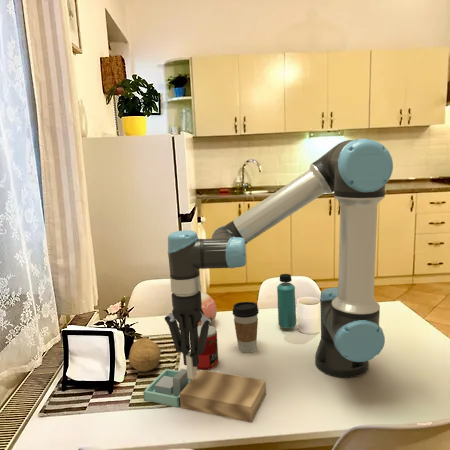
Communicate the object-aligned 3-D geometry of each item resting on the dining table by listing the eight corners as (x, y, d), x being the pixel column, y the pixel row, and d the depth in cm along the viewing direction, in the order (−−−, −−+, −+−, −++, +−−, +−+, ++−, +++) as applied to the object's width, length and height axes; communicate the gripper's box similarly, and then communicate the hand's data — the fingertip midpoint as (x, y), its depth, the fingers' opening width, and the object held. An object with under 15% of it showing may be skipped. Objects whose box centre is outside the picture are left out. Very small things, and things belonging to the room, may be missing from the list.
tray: (199, 382, 117) (198, 374, 116) (179, 407, 106) (178, 398, 106) (166, 376, 121) (165, 368, 120) (144, 400, 110) (143, 391, 109)
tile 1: (163, 375, 117) (164, 382, 117) (154, 385, 112) (155, 392, 112) (179, 378, 115) (180, 385, 115) (170, 388, 110) (171, 395, 110)
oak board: (265, 394, 110) (265, 380, 109) (251, 422, 99) (251, 407, 98) (200, 382, 117) (199, 369, 116) (180, 407, 106) (179, 393, 105)
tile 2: (188, 369, 113) (181, 368, 114) (179, 379, 109) (172, 377, 109) (188, 386, 114) (182, 384, 115) (180, 396, 110) (173, 395, 110)
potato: (157, 353, 135) (155, 330, 134) (166, 374, 122) (164, 349, 121) (126, 360, 132) (124, 336, 130) (132, 382, 119) (129, 356, 117)
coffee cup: (252, 356, 130) (250, 311, 127) (229, 351, 134) (227, 307, 131) (264, 345, 137) (263, 302, 134) (242, 340, 141) (240, 298, 138)
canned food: (215, 371, 122) (213, 336, 120) (189, 369, 124) (187, 335, 122) (221, 358, 130) (219, 325, 128) (196, 357, 131) (194, 324, 129)
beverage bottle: (298, 332, 145) (296, 277, 142) (279, 332, 145) (277, 278, 142) (295, 324, 152) (293, 271, 148) (277, 325, 152) (275, 272, 148)
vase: (180, 320, 161) (177, 276, 158) (215, 316, 162) (213, 273, 159) (181, 335, 148) (177, 288, 144) (219, 331, 149) (216, 284, 146)
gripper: (215, 288, 107) (220, 372, 111) (170, 285, 112) (177, 365, 116) (203, 298, 100) (209, 388, 104) (156, 294, 105) (163, 380, 109)
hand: (192, 376), depth 110 cm, fingers closed
